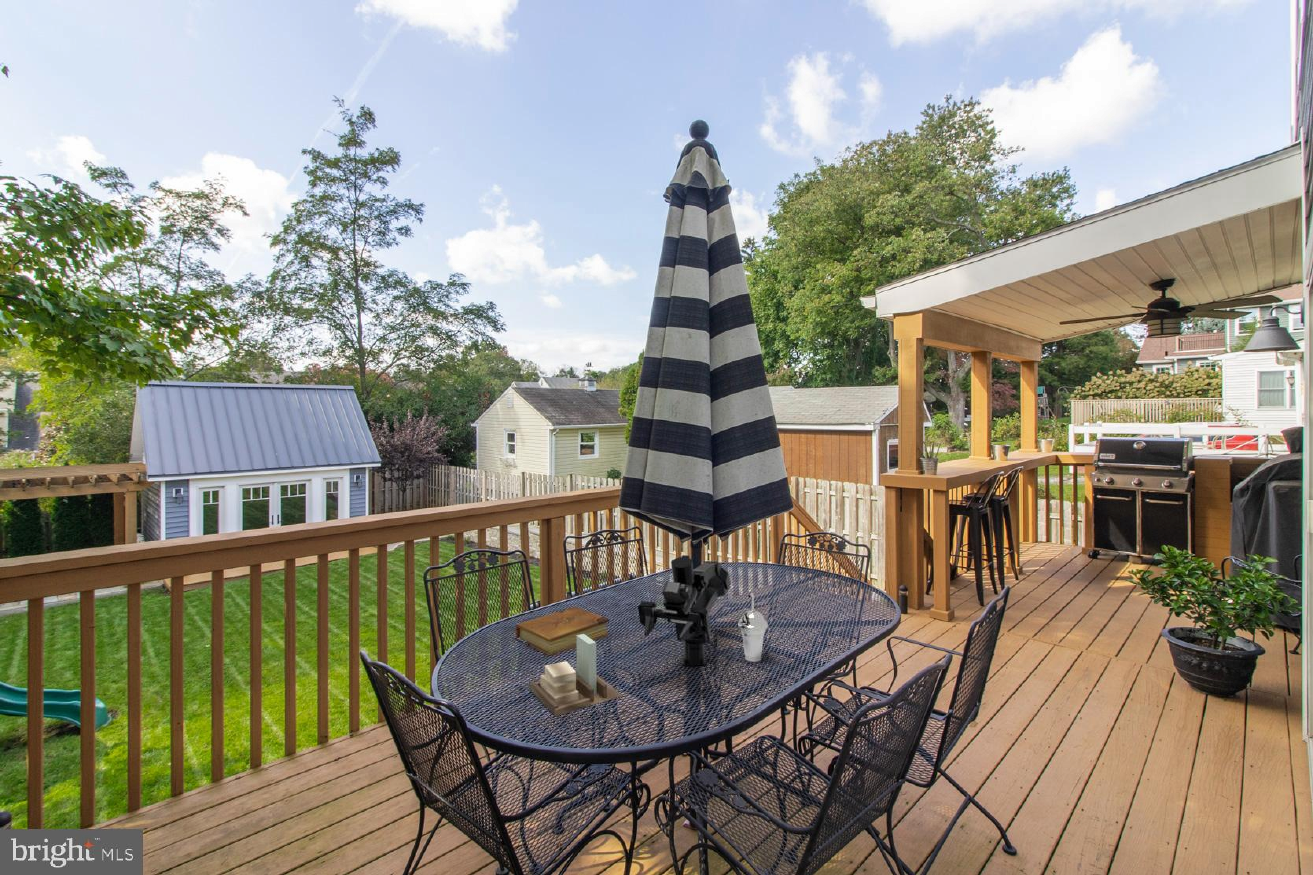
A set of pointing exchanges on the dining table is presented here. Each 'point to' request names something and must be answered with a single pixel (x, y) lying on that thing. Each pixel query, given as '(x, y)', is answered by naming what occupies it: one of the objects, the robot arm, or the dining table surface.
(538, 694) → the tray
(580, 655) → the sage panel
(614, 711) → the dining table surface
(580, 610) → the diary
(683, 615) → the robot arm
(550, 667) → the offcut stack
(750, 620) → the cup with straw
